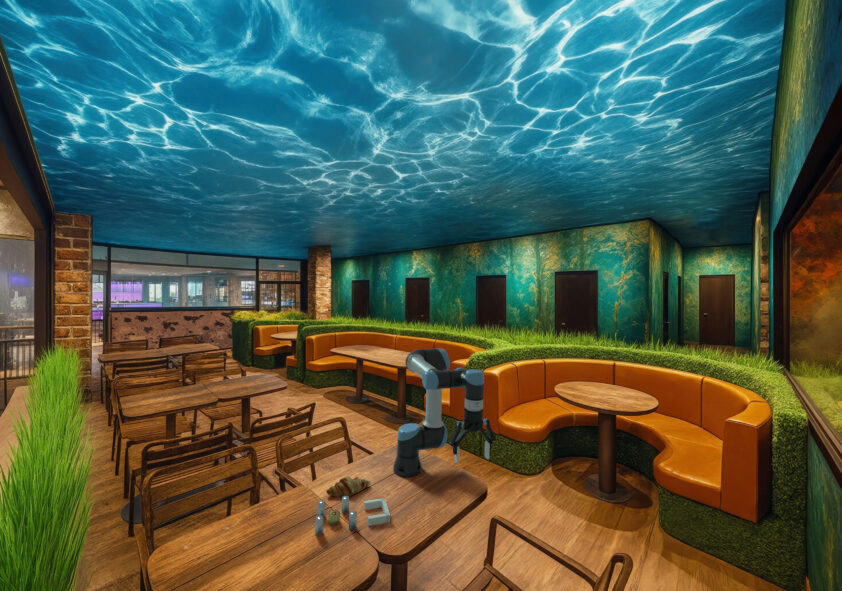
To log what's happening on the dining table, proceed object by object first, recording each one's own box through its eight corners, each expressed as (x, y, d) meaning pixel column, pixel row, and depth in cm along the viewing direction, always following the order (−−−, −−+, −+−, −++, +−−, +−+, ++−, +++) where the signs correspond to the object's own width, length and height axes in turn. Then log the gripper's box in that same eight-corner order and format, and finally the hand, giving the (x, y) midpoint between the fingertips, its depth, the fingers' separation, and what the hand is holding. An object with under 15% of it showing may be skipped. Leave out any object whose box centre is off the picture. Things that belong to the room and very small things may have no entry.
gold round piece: (328, 519, 144) (328, 510, 144) (339, 517, 145) (339, 509, 145) (328, 526, 140) (328, 518, 140) (340, 524, 141) (340, 516, 141)
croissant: (367, 489, 172) (365, 472, 175) (374, 489, 164) (372, 471, 167) (324, 500, 162) (323, 481, 165) (329, 501, 154) (328, 481, 157)
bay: (364, 507, 152) (364, 501, 152) (384, 504, 155) (384, 498, 155) (368, 526, 141) (368, 518, 141) (389, 522, 143) (390, 515, 143)
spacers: (315, 514, 147) (315, 500, 147) (353, 508, 152) (353, 494, 152) (315, 537, 134) (315, 521, 134) (356, 529, 138) (357, 515, 138)
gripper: (448, 414, 134) (446, 468, 134) (505, 409, 141) (503, 460, 142) (441, 407, 141) (440, 458, 141) (496, 403, 148) (494, 452, 149)
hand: (471, 459), depth 141 cm, fingers open, 13 cm apart
